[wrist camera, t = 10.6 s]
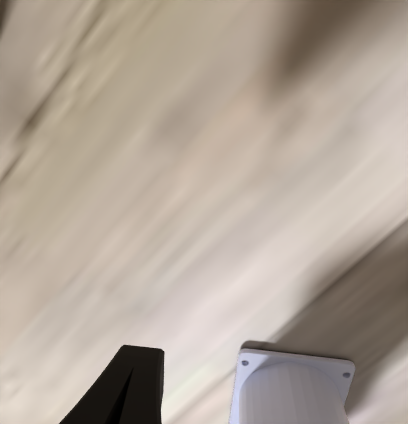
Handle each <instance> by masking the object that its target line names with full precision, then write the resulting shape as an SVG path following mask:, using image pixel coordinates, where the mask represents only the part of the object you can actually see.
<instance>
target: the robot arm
mask: <svg viewBox="0 0 408 424" xmlns="http://www.w3.org/2000/svg"><path fill="white" fill-rule="evenodd" d="M243 360H246V361H245V362H244V361H243ZM345 372H347V373H345ZM354 373H355V366H354V363H353V362H352V361H349V360H341V359H333V358H324V357H316V356H307V355H298V354H290V353H281V352H273V351H264V350H255V349H247V348H246V349H241V350H240V351H239V354H238V361H237V368H236V375H235V382H234V389H233V396H232V403H231V411H230V418H229V424H349V421H348V418H347V415H346V412H345V409H344V404H345V401H346V398H347V394H348V391H349V388H350V385H351V382H352V379H353V376H354ZM163 385H164V351H163V350H162V349H158V348H149V347H140V346H131V345H123V346H122V347H121V348H120V349H119V350H118V352H117V353H116V355H115V356H114V358H113V359H112V360H111V362H110V363H109V364H108V366H107V367H106V368H105V370H104V371H103V372H102V374H101V375H100V376H99V377H98V379H97V380H96V381H95V383H94V384H93V385H92V386H91V387H90V389H89V390H88V391H87V392H86V393H85V395H84V396H83V397H82V398H81V399H80V401H79V402H78V403H77V404H76V405H75V407H74V408H73V409H72V410H71V411H70V412H69V413H68V414H67V415H66V416H65V418H64V419H63V420H62V421H61V422H60V423H59V424H162V423H161V404H162V397H163Z"/></svg>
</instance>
